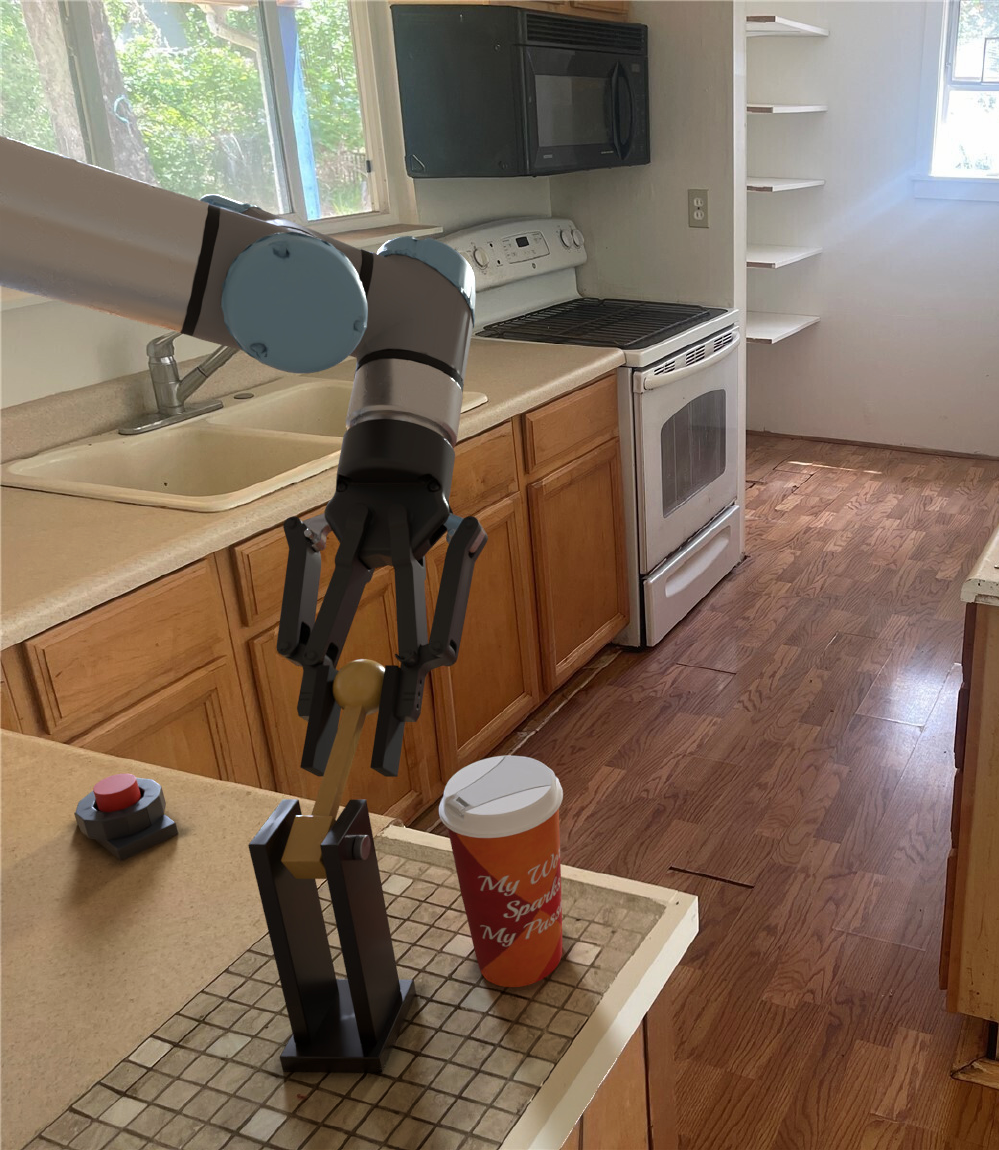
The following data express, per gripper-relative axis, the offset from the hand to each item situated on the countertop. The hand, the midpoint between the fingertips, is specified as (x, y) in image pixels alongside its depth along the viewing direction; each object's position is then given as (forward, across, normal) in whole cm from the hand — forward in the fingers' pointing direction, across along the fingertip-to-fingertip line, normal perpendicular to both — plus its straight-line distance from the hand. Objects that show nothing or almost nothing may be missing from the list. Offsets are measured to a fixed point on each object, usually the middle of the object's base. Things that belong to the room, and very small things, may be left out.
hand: (349, 771), depth 67 cm
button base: (0, +26, -21) cm, 34 cm away
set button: (-2, +26, -19) cm, 33 cm away
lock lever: (0, 0, 0) cm, 0 cm away
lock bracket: (+15, 0, -7) cm, 16 cm away
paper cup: (+10, -9, -11) cm, 18 cm away
